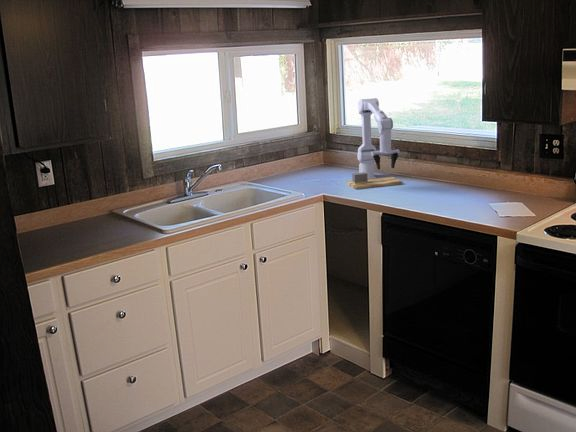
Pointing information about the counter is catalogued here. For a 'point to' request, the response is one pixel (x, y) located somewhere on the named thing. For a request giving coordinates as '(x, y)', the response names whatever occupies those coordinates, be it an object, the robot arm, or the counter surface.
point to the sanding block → (359, 178)
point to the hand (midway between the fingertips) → (385, 168)
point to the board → (376, 183)
